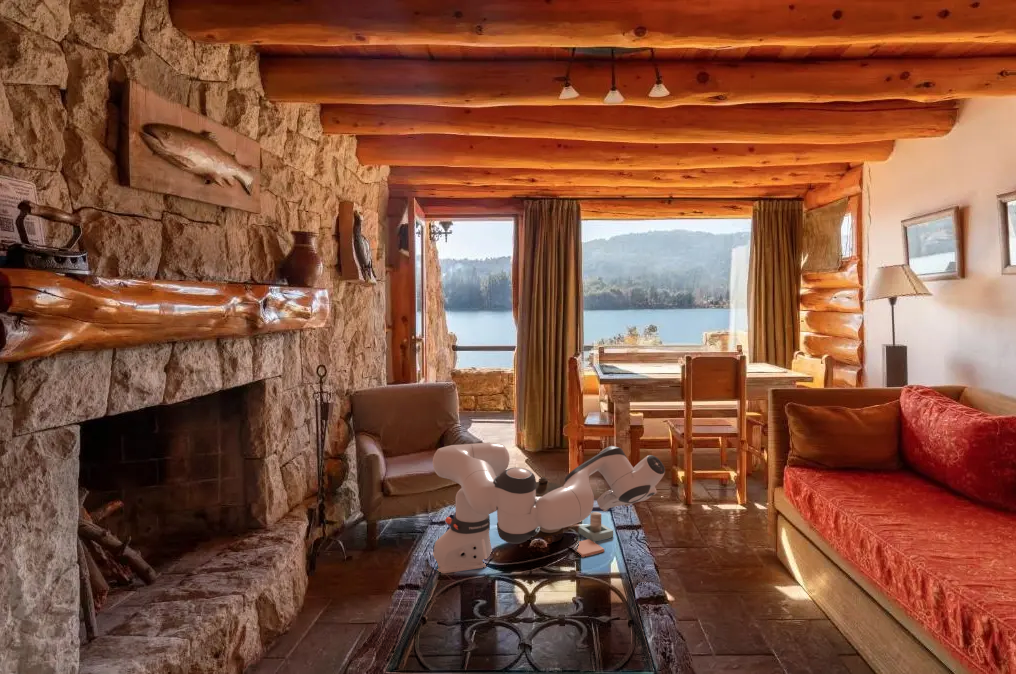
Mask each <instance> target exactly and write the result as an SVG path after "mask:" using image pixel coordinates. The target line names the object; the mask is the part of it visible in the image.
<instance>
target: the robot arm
mask: <svg viewBox="0 0 1016 674" xmlns="http://www.w3.org/2000/svg"><path fill="white" fill-rule="evenodd" d="M509 463H510V453H509V451H508V449H507V447H506V446H505V445H503V444H501V443H496V442H478V443H466V444H464V443H463V444H451V445H446V446H443V447H440V448H439V447H438V448H437V450H436V451H435V452H434V455H433V458H432V467H433V470H434V472H435V474H436V475H437V476H438V477H439V478H442V479H443V478H444V479H446V480H450V481H452V482H454V483H456V484H458V485H460V486H461V488H460V489H459V490H458V491H457V492H456V495H455V515H454V517H453V518H451V517H450V516H447V517H446V518H445V522H446V524H448V525H450V528H449V529H447V530H446V532H444V533H443V534H442V535H440V537H439V538H437V540H436V541H435V543H434V546H433V552H432V553H433V556H434V558H435V559H436V561H437V563H438V567H439V568H438V569H437V570H438V571H439V572H441V573H440V574H449V573H450V574H451V573H457V572H463V571H464V572H465V571H470V570H476V569H484V568H487V566H486V564H485V563H483V561H482V560H483V559H487V558H488V557H489V556H490V554H491V552H492V551H493V548H492V542H491V537H490V527H491V526H490V525H491V523H490V522H491V519H490V518H491V517H490V515H491V514H493V513H495V512H496V515H497V517H496V518H497V522H496V528H497V529H496V530H497V534H498V537H499V539H501V540H503V541H504V542H506V543H508V544H512V545H517V544H523V543H525V542H528V541H527V540H529V539H530V538H531V537H532V536H535V535H537V534H538V532H539V530H540V527H542V528H544V529H547V530H553V529H560V528H564V529H565V528H567V527H571V526H573V525H576V524H578V523H580V522H582V521H584V520H585V519H587V518H588V517H589V516H590V514H591V513H592V511H593V508H594V504H595V503H594V502H595V497H594V492H593V490H592V485H591V482H590V476H592V475H593V474H595V473H596V472H599V473H600V474H601V475H602V476H603V478H604V480H605V481H606V483H607V484H608V486H609V487H610V489H609V490H606V491H604V493H602V494H600V496H599V497H598V498H597V499H596V502H597V505H598V507H599V509H600V510H602V511H603V512H608V511H609V510H610V509H612V508H615V507H620V506H624V507H625V508H626V507H630V506H631V505H633V504H634V503H639V502H644V501H646V500H649V499H650V498H651V497H652V496H655V495H656V494H657V493H658V491H657V488H656V487H657V485H658V484H659V482H660V481H661V480H662V479H663V477H664V476H665V474H666V467H665V465H664V464H663V462H662V461H661V459H659V458H658V457H657V456H655V455H653V454H649V455H647V456H645V457H644V458H642V459H641V460H640V461H639V462H638V463H637V464H635V466H633V465H632V464H631V462H630V461H629V459H628V457H627V455H626V454H625V452H624V450H623V448H621V447H618V446H615V445H610V446H606V447H605V448H604V449H602V450H601V451H599V453H597V454H596V455H594V456H592V457H591V458H589V459H587V460H586V461H584V462H583V463H581V464H579V466H577V467H575V468H574V469H573V470H571V471H570V472H569V473H568V474H567V475H566V476H565V478H564V484H563V486H562V487H560V488H557V489H555V490H553V491H551V492H549V493H547V494H545V495H543V496H542V497H536V482H537V479H536V476H535V474H534V473H533V472H532V471H531V470H529V469H528V468H523V467H510V468H508V467H509V465H510V464H509ZM537 530H538V531H537ZM483 567H484V568H483ZM439 572H438V573H439Z"/></svg>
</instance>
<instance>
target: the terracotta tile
mask: <svg viewBox="0 0 1016 674" xmlns="http://www.w3.org/2000/svg"><path fill="white" fill-rule="evenodd" d="M578 542H579V546H578V549H577V552H578V553H579V554H580V555H581V556H580V555H579V554H578V555H579V556H580V557H581V558H584V557H585V556H586V557H590V556H593V555H597V554H600V553H604V552H605V548H603V547H602V546H601V545H600V544H597V543H596V542H593V541H591V540H590V539H587V538H586V539H584V540H580V541H578ZM586 557H585V558H586Z"/></svg>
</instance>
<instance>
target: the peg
mask: <svg viewBox="0 0 1016 674" xmlns="http://www.w3.org/2000/svg"><path fill="white" fill-rule="evenodd" d="M589 516H590V520H589V521H590V523H589V524H590V531H591V532H593V533H597V532H601V524H602V513H601V512H599V511H593V512H591V513H590V515H589Z"/></svg>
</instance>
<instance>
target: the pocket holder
mask: <svg viewBox="0 0 1016 674" xmlns="http://www.w3.org/2000/svg"><path fill="white" fill-rule="evenodd" d="M578 534H579V535H581V536H582V535H583V536H582V537H584V538H585V539H586V540H587V539H590V540H591V541H593V542H594V543H596V542H600V541H603V539H604V540H607V539H610V538H611V537H612V538H614V530H613V529H611V528H610V527H608V526H606V525H604V524H603V523H601V532H597V533H593V532H591V531H590V523H587V524H583V525H580V526H579V525H578Z"/></svg>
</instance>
